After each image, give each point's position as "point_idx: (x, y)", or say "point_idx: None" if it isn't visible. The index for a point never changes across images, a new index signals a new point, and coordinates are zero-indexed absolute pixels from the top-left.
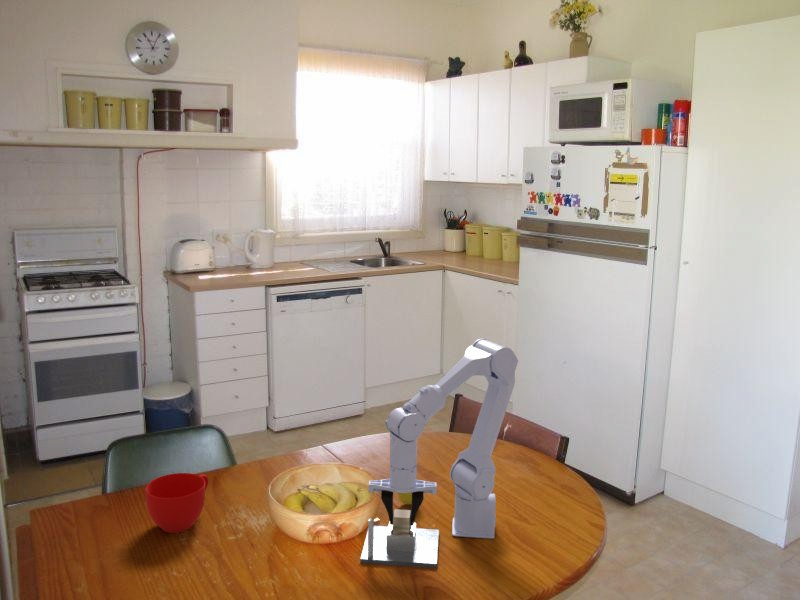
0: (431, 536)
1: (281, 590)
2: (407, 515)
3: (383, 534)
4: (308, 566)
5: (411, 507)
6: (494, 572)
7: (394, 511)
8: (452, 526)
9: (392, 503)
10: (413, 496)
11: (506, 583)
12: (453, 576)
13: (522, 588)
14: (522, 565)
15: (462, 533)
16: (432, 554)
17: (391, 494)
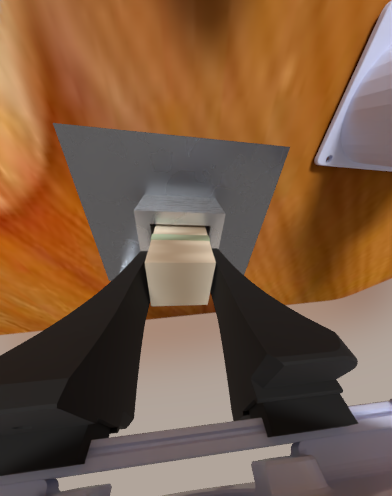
0: (256, 190)
1: (33, 328)
2: (201, 293)
3: (126, 188)
4: (25, 289)
5: (222, 277)
6: (319, 272)
7: (147, 277)
8: (342, 105)
9: (136, 383)
10: (247, 417)
11: (320, 289)
12: (258, 285)
13: (332, 294)
14: (373, 254)
15: (345, 156)
16: (241, 257)
17: (109, 433)
